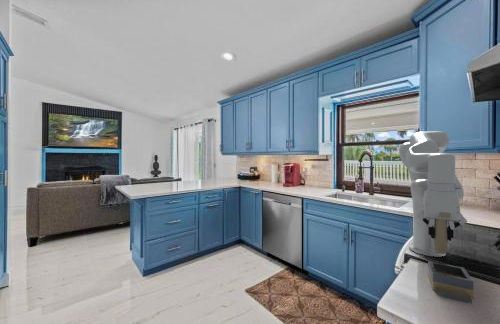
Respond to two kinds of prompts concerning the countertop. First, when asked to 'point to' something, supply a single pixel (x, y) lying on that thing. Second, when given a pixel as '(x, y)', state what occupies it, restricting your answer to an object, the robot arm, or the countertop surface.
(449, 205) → the robot arm
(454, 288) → the open grey tray
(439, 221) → the handle
